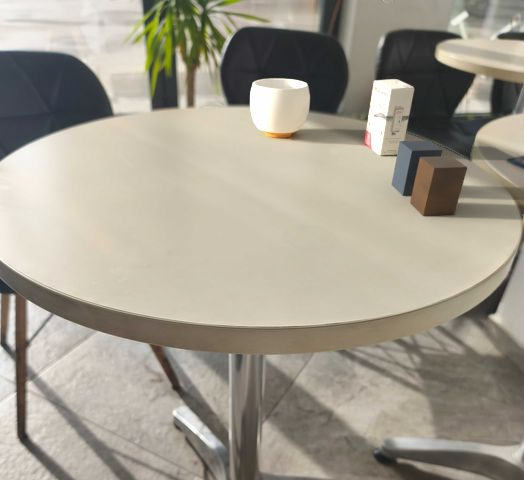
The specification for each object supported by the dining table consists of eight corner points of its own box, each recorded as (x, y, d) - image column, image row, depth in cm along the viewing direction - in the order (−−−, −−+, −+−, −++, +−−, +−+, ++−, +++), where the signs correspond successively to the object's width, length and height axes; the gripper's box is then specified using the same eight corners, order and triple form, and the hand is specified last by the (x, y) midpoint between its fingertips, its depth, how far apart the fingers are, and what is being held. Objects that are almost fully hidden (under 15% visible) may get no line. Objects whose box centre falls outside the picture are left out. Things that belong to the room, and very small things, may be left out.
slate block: (419, 183, 84) (429, 140, 79) (431, 194, 80) (442, 149, 76) (391, 184, 83) (399, 141, 79) (402, 195, 79) (411, 150, 75)
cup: (256, 143, 100) (257, 90, 94) (244, 127, 109) (244, 78, 103) (314, 141, 102) (319, 89, 96) (297, 125, 111) (300, 77, 105)
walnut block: (439, 201, 78) (451, 155, 73) (454, 214, 74) (467, 167, 69) (409, 202, 77) (419, 156, 73) (423, 215, 73) (434, 168, 69)
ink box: (363, 143, 102) (372, 78, 94) (385, 142, 103) (396, 78, 95) (379, 156, 95) (390, 87, 88) (402, 155, 96) (416, 87, 89)
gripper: (432, -113, 70) (412, 6, 79) (408, -99, 86) (393, -2, 95) (388, -114, 70) (372, 4, 79) (371, -100, 86) (360, -3, 95)
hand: (383, 1), depth 87 cm, fingers open, 8 cm apart
